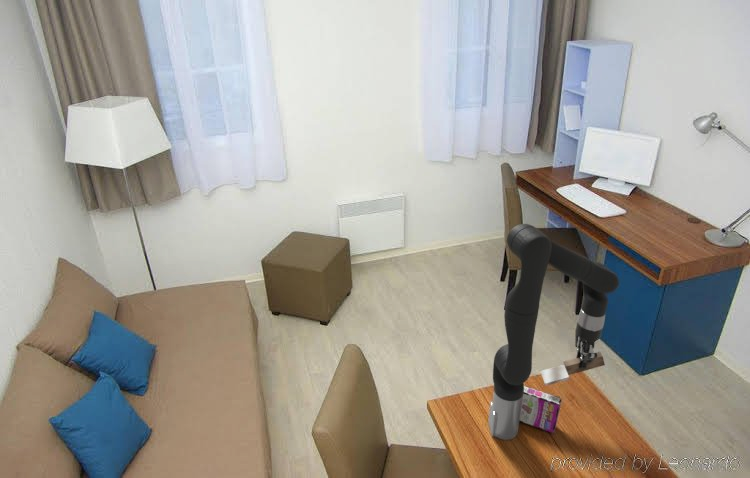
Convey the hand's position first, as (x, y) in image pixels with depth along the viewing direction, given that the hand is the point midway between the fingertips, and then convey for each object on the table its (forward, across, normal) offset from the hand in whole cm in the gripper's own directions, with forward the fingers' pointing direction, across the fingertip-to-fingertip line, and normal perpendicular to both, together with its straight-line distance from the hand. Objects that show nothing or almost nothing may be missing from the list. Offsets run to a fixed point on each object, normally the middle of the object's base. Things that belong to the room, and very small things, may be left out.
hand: (580, 364), depth 172 cm
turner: (+2, 0, -1) cm, 3 cm away
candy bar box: (+15, +8, -7) cm, 18 cm away
